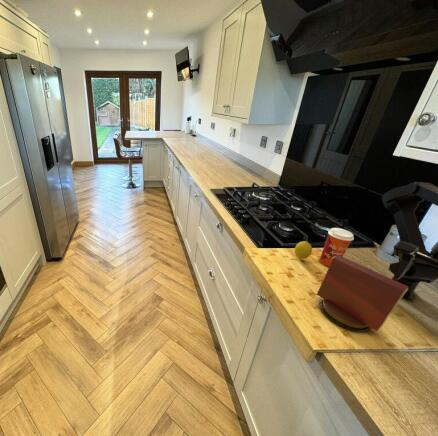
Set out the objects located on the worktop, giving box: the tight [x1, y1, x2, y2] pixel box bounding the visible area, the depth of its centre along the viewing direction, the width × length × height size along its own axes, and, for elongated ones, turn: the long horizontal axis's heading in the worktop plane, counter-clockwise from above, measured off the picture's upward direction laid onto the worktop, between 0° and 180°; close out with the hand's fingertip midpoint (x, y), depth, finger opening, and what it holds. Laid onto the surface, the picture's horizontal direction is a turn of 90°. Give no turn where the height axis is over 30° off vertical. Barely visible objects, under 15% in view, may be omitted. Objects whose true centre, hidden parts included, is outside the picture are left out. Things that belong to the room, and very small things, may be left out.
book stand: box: [316, 255, 408, 332], centre depth 65 cm, size 11×15×15 cm
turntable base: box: [319, 299, 370, 333], centre depth 69 cm, size 12×12×1 cm
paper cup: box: [319, 227, 355, 268], centre depth 89 cm, size 8×8×14 cm
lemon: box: [294, 240, 313, 260], centre depth 92 cm, size 6×6×8 cm
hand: (417, 289), depth 61 cm, fingers open, 8 cm apart
